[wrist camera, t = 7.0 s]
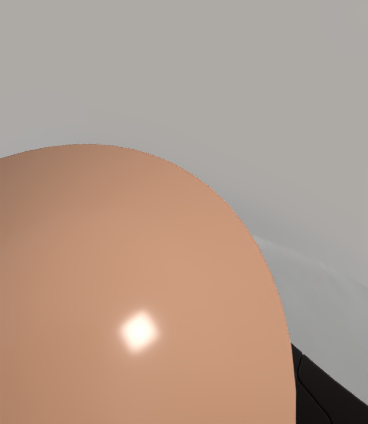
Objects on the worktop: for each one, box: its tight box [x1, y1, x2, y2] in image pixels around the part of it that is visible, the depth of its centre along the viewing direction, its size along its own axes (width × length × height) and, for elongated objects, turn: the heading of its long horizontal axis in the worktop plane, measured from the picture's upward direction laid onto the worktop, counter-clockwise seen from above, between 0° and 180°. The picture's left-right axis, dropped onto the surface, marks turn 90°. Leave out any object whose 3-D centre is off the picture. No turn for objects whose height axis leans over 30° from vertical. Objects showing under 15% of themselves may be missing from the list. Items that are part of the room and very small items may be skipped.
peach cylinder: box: [0, 144, 296, 424], centre depth 8 cm, size 6×6×12 cm
